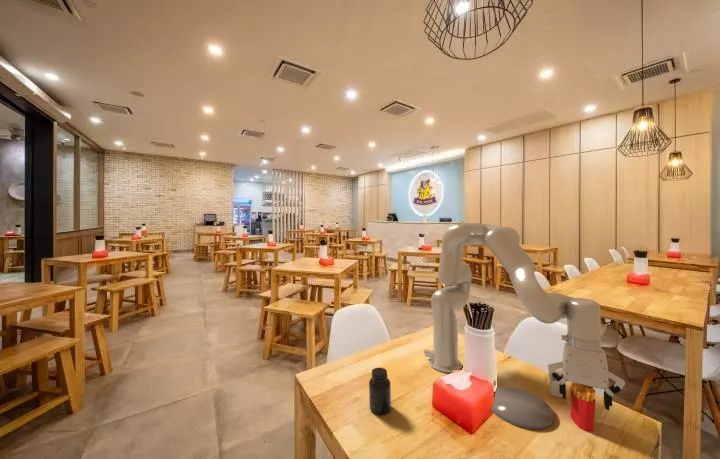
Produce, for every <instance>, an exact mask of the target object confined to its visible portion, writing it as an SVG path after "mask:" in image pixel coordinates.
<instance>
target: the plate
mask: <svg viewBox="0 0 720 459" xmlns="http://www.w3.org/2000/svg"><path fill="white" fill-rule="evenodd" d="M495 388H496V393H495V397H494V404H493V408H491V409H490V410H491V411H490V412H492V413H493V414H494V415H495V416H497V417H498V418H499V419H501V420H502V421H504V422H506V423H508V424H510V425H513V426H516V427H519V428H522V429H525V430H534V431H536V430H544V429H545V430H546V429H548V428H550V427H551V426H552V425H553V423H554V416H555V414H554V411H553V409H552V408H551V406H550V405H549V404H548V403H547V402H546V401H545V400H544V399H543V398H541V397H540V396H537V395H535V394H534V393H531V392H529V391H526V390H524V389H520V388H517V387H510V386H500V387H499V386H498V387H495Z"/></svg>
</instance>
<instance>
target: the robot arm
mask: <svg viewBox="0 0 720 459" xmlns="http://www.w3.org/2000/svg"><path fill="white" fill-rule="evenodd" d="M520 238H521V237H520V234H519V232H517V230H516V229H514V228H513V227H509V226H501V225H496V224H495V225H493V224H488V223H480V222H479V223H478V222H462V223H456V224H453V225H451V226H450V227H448V228H447V229H446V230H445V232H444V233H443V235H442V239H441V240H442V241H441V251H440V252H441V253H440V257H439V265H438V271H437V279H438V282H439V284H441V285H442V286H444V287H442V288H440V289H437V290H435V292H434V293H433V294H432V295H431V297H430V305H431V309H432V310H431V311H432V320H433V322H432V324H433V325H432V326H433V349H432V350H429V349H426V348H425V349H424V351H423V354H424V357H427V358H430V359H429V364H430V366H431V368H433V369H435V370H436V371H439V372H442V373H451V372H452V371H453V370H457V369H458V370H459V371H461V370H462V367H463V365H462V362H461V361H460V360H459V359H458V356H459V354H458V352H459V350H458V348H459V346H458V342H459V341H458V340H459V338H458V337H459V336H458V335H459V334H458V332H459V331H458V330H459V329H458V318H457V316H456V312H455V311H456V310H458V309H461V308H463V307H465V305H466V304H467V302H468V301H469V298H470V292H471V284H472V276H473V273H472V270H471V267H470V266H469V264H468V263H466V262H465V261H463V260H464V250H463V247H464V246H473V245H480V246H486V247H488V249H489V250H490V252H491V253H492V254H493V256H494V257H495V258H496V259H497V260H498V262H499V263H500V264H501V266H502V267H503V268H504V270H505V271H506V273H507V274H508V276H509V278H510V281H511V283H512V286H513V289H514V292H515V294H516V296H518V298H519V300H520V302H521V303H522V305H523V306H524V307H525V308H526V309H527V311H528V312H529V313H530V314H531V316H533V318H535V320H537V321H539V322H540V323H543V324H550V325H551V324H555V323H557V322H559V321H560V320H561V319H566V323H567V324H566V325H567V327H566V328H567V329H566V330H567V332H566V334H563V335H562V334H561V341H562V340H563V341H565V342H564V346H563V352H562V361H558V362H554V363H549V364H547V370H548V369H549V370H550V372H551V374H552V376H553V377H554V378H555V379H556V380H557V381H558V382H559V392H560V394H562V399H564V400H566V399H567V394H566V393H567V386H566V383H567V382H570V383H577V384H581V385H585V386H590V387H593V389H600V390H603V405H604V408H605V410H606V411H610V407H613V397H614V395H616V394H617V393H619V392H621V390H622V389H624V387H625V385H626V382H625V380H624V379H622V377H619V376H618V375H616V374H614V373H613V372H611V371H609V367H608V360H607V355H606V352H605V350H604V349H602V330H601V327H602V326H601V325H602V324H601V323H602V320H601V319H602V317H601V312H602V311H601V305H600V304H599V302H598V301H595V300H593V299H589V298H585V297H584V298H582V297H573V296H569V295H565V294H562V293H558V292H557V293H556V292H550V293H547V292H546V291H545V290H544V289H543V287H542V286H541V284H540V282H539V281H538V280H537V277H536V275H535V263H534V260H533V259H532V258H531V256H529V254H528V253H527V252H526V251H525V249H523V247H522V246H521V245H520V241H521V239H520ZM559 368H560V369H562V370H563V374H561V375H560V376H559V374H558V373H557V372H556V371H555V369H559ZM451 374H452V373H451ZM609 379H611V380H612V381H614V382H615V384H612V385H610V382H609V381H610V380H609Z"/></svg>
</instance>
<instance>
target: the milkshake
mask: <svg viewBox="0 0 720 459" xmlns="http://www.w3.org/2000/svg"><path fill="white" fill-rule="evenodd" d="M547 371H548V378H549V390H550V392H549V393H550V394H551V396H554V398H563V396H562V394H560V392H559V382H558V381H557V380H556V379H555V378H554V377H553V376H552V374H551V372H550V370H549V369H548V368H547ZM555 371H556V372H557V373H558V374H559V376H560V375H561V374H563V369H562V368H559V369H555Z"/></svg>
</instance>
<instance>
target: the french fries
mask: <svg viewBox="0 0 720 459" xmlns="http://www.w3.org/2000/svg"><path fill="white" fill-rule="evenodd" d="M569 391H570V392H569V394H570V395H569V396H570V418H571V420H572V421H573V422H574V423H575V425H576V426H577V427H578V428H579V429H581V430H582V431H584V432H590V433H592V432H594V428H595V411H596V410H595V409H596V399H595V395H596V390H595V388H594V387H590V386H585V385H581V384H577V383H572V382H570V386H569Z"/></svg>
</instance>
